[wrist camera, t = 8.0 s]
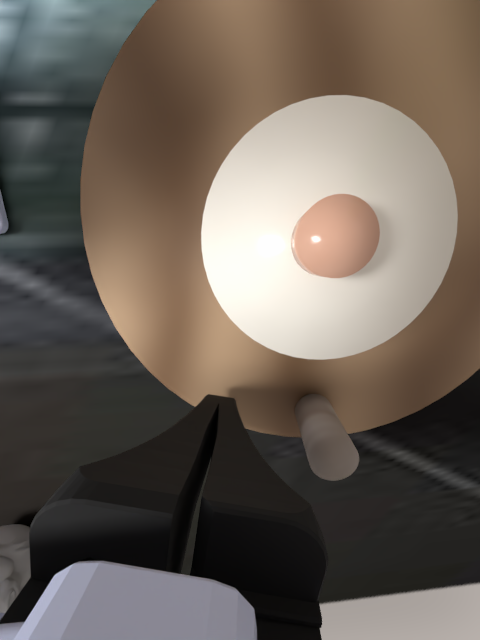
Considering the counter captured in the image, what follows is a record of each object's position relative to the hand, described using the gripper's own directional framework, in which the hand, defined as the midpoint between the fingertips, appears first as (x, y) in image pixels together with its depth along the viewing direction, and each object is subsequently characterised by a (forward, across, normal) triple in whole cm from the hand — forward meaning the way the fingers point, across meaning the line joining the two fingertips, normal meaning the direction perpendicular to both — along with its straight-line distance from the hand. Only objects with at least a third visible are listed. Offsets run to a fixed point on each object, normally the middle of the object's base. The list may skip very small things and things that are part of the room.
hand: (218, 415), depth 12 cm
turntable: (+3, -3, -9) cm, 10 cm away
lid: (+1, -3, -8) cm, 8 cm away
